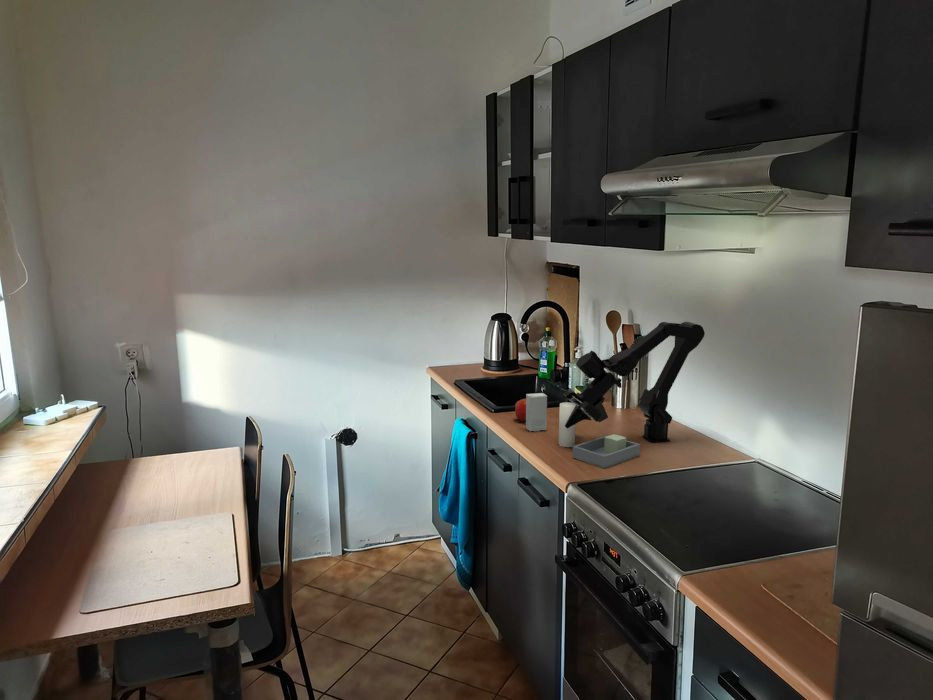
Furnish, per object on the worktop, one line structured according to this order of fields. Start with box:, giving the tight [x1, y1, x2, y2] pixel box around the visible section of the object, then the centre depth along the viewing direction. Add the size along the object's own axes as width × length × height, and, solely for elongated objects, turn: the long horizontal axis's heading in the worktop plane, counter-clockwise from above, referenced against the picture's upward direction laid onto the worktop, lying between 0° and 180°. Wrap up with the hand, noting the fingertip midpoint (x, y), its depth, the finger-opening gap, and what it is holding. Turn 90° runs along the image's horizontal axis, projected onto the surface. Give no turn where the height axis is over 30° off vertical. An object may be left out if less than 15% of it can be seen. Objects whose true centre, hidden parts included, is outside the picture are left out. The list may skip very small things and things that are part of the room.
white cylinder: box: [558, 401, 577, 448], centre depth 211 cm, size 5×5×13 cm
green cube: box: [604, 433, 627, 453], centre depth 203 cm, size 4×4×4 cm
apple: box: [514, 398, 526, 422], centre depth 236 cm, size 8×8×8 cm
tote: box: [571, 434, 641, 469], centre depth 201 cm, size 17×12×4 cm
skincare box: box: [525, 392, 548, 432], centre depth 226 cm, size 6×4×12 cm
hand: (562, 424), depth 210 cm, fingers closed on white cylinder, 5 cm apart
